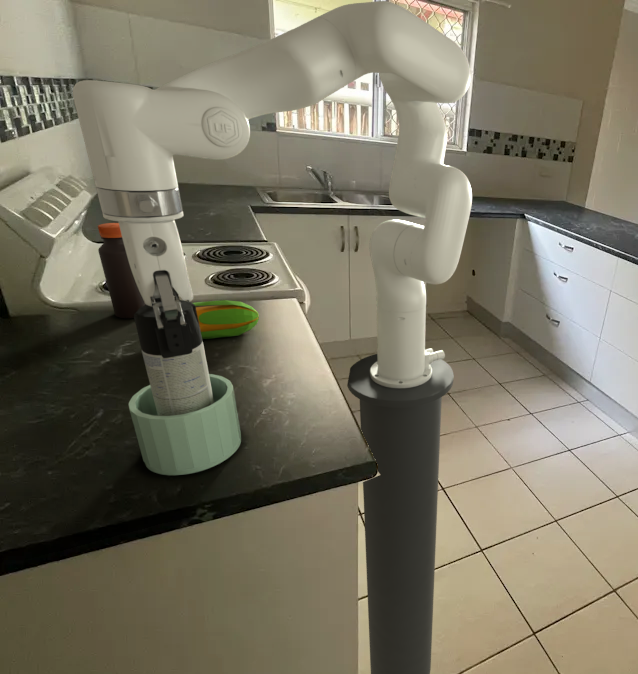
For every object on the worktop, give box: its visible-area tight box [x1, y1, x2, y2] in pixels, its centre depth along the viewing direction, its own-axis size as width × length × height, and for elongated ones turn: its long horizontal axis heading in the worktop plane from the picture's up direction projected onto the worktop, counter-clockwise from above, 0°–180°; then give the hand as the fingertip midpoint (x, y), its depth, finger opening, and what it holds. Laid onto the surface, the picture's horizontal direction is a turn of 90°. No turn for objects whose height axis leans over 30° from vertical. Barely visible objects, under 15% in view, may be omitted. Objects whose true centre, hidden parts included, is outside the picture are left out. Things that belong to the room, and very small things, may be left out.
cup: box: [127, 373, 242, 476], centre depth 66 cm, size 12×12×9 cm
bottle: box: [97, 222, 146, 319], centre depth 104 cm, size 7×7×20 cm
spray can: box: [133, 299, 214, 416], centre depth 63 cm, size 7×7×20 cm
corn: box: [192, 299, 260, 340], centre depth 99 cm, size 7×8×20 cm
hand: (172, 342), depth 61 cm, fingers closed on spray can, 6 cm apart
